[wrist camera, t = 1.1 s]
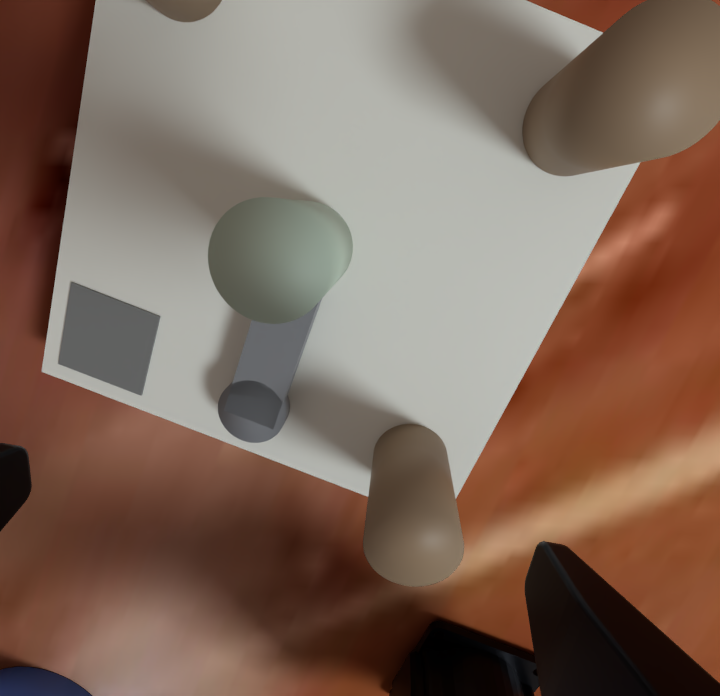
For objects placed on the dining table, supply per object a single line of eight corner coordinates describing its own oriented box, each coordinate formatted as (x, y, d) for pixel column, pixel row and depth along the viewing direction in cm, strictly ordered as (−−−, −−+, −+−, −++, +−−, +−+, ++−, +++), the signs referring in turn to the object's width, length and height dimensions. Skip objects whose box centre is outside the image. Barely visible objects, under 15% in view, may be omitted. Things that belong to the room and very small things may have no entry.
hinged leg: (283, 443, 18) (239, 529, 13) (214, 417, 18) (144, 493, 13) (365, 220, 15) (348, 225, 10) (283, 187, 15) (226, 176, 10)
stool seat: (654, 87, 15) (858, -12, 8) (437, 495, 21) (455, 632, 14) (157, -120, 14) (-53, -403, 8) (75, 356, 20) (-87, 428, 13)
